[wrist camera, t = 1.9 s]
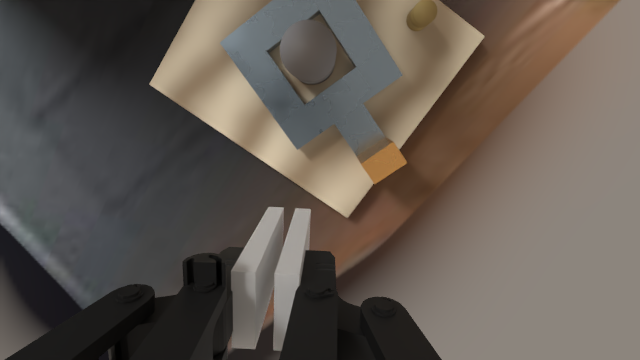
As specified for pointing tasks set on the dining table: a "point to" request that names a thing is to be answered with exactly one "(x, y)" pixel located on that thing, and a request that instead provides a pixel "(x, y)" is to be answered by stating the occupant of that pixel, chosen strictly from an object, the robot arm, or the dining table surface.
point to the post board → (315, 84)
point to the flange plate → (337, 100)
